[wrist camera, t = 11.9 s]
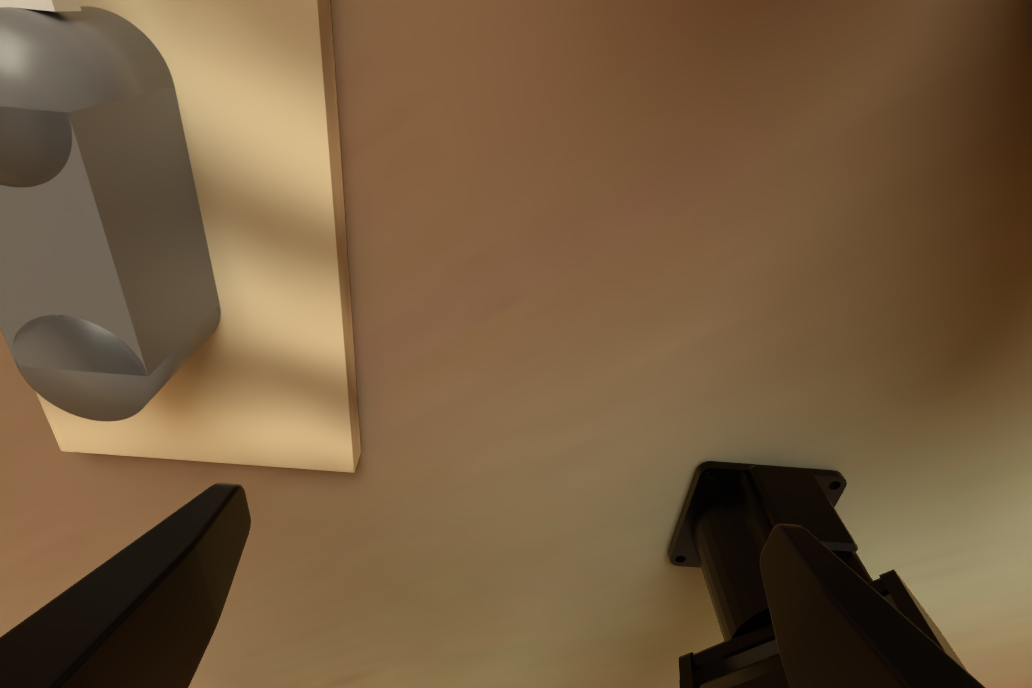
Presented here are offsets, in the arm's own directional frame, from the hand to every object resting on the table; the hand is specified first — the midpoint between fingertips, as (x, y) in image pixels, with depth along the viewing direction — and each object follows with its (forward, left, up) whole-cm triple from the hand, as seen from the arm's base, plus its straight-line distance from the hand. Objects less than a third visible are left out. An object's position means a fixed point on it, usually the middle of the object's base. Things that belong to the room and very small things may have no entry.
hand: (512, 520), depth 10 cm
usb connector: (+1, +12, -11) cm, 16 cm away
